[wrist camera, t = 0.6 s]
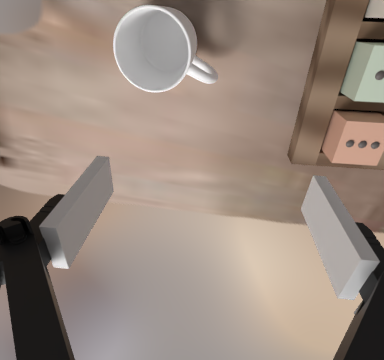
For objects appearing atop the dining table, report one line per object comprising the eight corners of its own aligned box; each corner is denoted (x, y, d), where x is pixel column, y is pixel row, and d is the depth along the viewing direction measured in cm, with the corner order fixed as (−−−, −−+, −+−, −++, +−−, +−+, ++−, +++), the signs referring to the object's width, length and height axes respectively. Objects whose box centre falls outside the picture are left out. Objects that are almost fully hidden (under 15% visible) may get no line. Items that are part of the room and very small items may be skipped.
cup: (151, -7, 33) (127, -14, 25) (232, 42, 35) (237, 51, 27) (129, 57, 37) (103, 70, 29) (203, 97, 39) (199, 120, 31)
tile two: (356, 41, 32) (374, 45, 28) (407, 43, 32) (433, 47, 28) (339, 91, 35) (354, 101, 31) (386, 94, 35) (406, 104, 31)
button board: (346, -77, 28) (358, -86, 26) (483, -75, 27) (510, -84, 25) (287, 155, 43) (291, 163, 41) (375, 160, 42) (384, 169, 40)
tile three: (333, 110, 37) (347, 121, 33) (378, 112, 36) (397, 124, 32) (321, 148, 40) (331, 163, 36) (361, 151, 39) (377, 166, 36)
